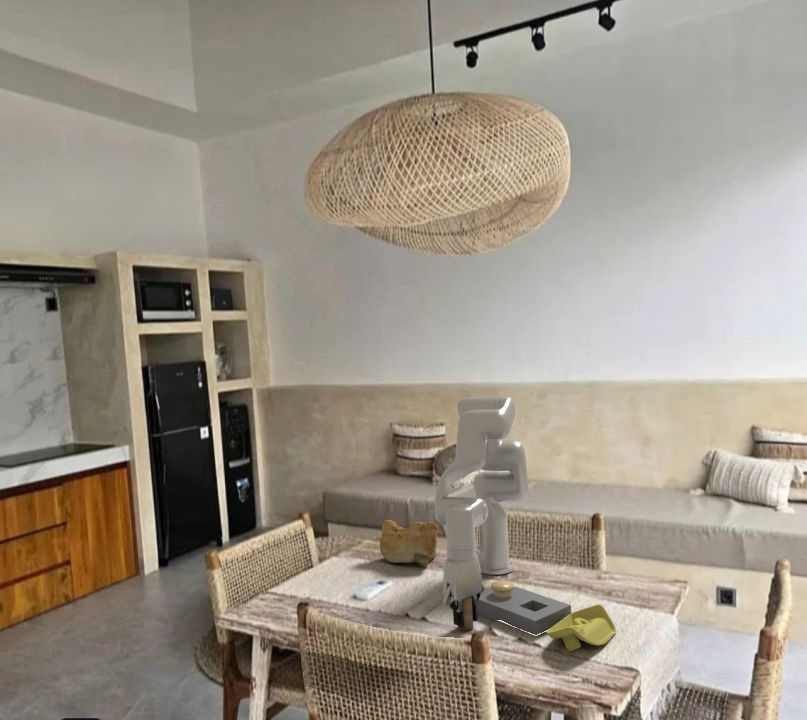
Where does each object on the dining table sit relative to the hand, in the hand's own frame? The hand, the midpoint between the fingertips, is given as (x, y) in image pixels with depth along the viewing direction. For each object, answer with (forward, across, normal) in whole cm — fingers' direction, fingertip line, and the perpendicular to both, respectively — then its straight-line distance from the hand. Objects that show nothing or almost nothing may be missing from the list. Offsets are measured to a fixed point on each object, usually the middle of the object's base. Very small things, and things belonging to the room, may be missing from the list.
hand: (465, 622), depth 173 cm
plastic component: (+2, -15, +24) cm, 29 cm away
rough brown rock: (+2, -26, -51) cm, 57 cm away
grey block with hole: (+2, -16, +4) cm, 16 cm away
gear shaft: (+1, 0, 0) cm, 1 cm away
